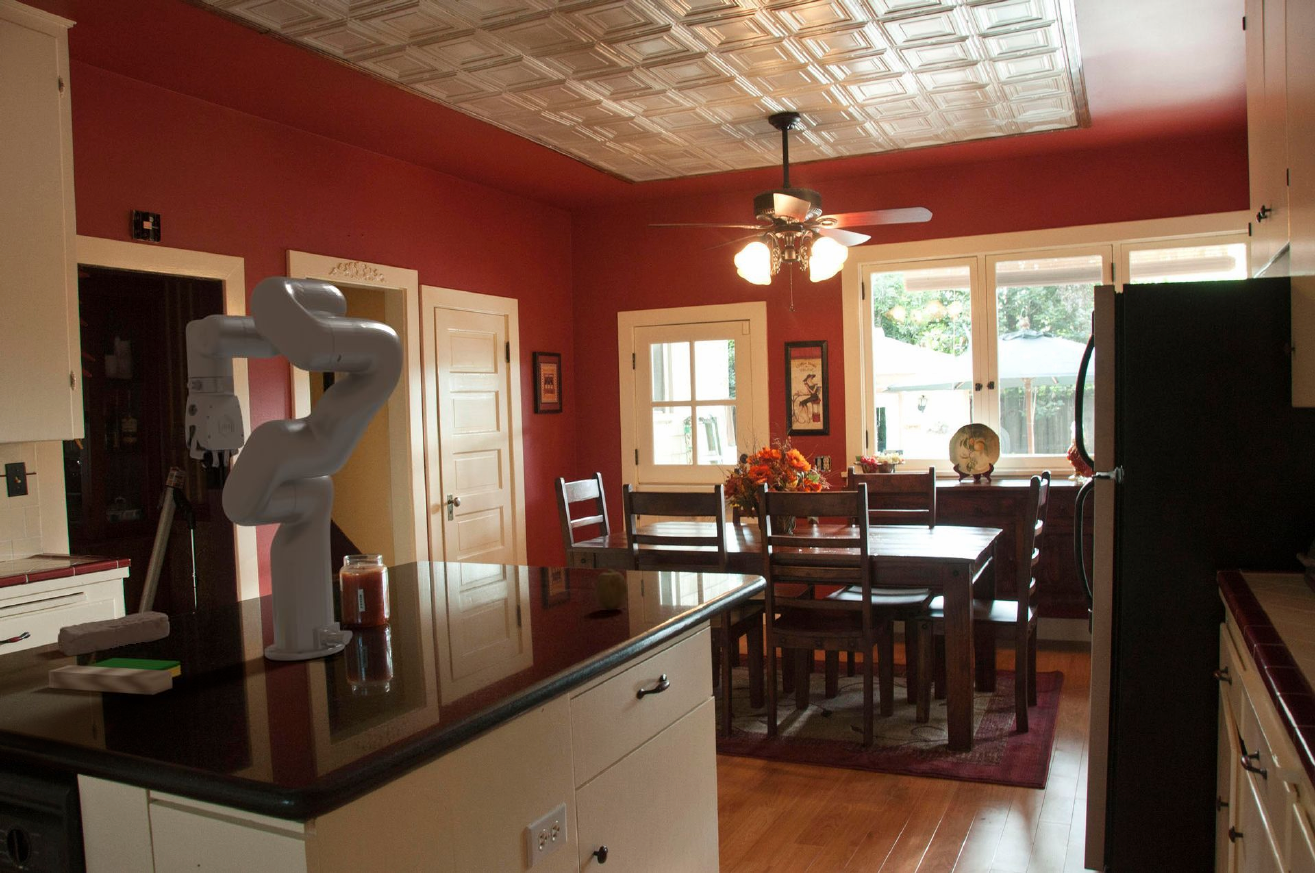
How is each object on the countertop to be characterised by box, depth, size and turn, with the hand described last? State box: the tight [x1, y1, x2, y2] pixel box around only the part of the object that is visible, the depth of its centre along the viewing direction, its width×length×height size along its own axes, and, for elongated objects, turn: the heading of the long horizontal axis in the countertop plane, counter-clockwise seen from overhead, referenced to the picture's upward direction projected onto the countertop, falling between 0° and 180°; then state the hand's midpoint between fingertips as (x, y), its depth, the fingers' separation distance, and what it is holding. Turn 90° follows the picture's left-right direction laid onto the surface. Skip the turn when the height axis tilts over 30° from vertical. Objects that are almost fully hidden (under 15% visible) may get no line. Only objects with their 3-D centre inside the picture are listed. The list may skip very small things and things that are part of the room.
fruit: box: [594, 568, 628, 612], centre depth 187 cm, size 6×6×8 cm
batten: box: [48, 664, 173, 696], centre depth 145 cm, size 20×4×2 cm, turn 72°
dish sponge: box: [87, 657, 181, 678], centre depth 151 cm, size 7×14×2 cm, turn 71°
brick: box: [57, 610, 170, 657], centre depth 176 cm, size 16×8×5 cm, turn 136°
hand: (216, 488), depth 177 cm, fingers closed
